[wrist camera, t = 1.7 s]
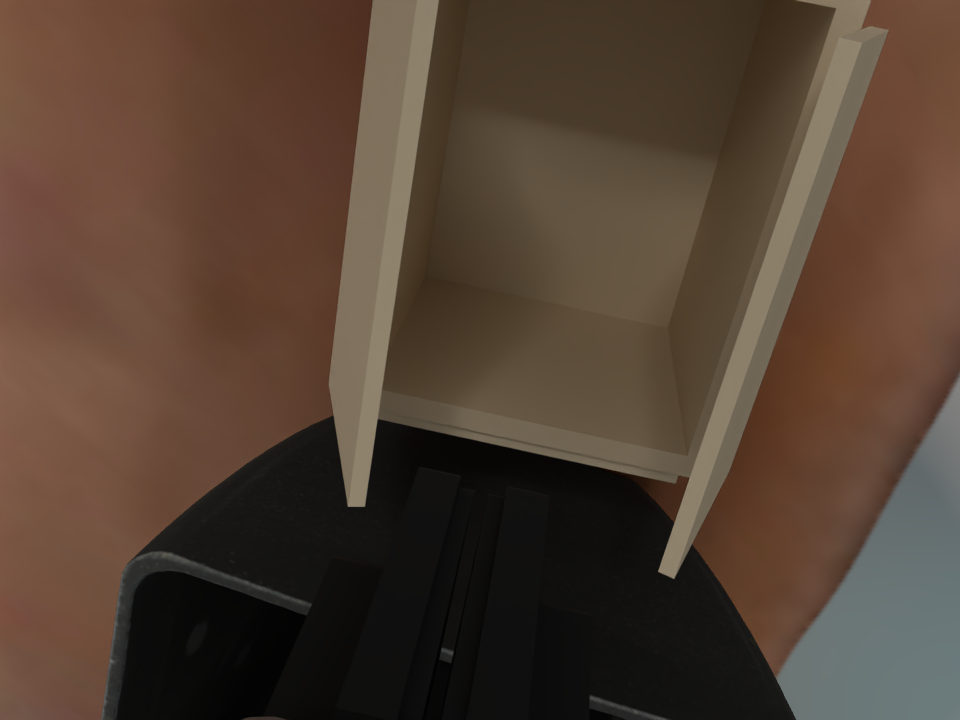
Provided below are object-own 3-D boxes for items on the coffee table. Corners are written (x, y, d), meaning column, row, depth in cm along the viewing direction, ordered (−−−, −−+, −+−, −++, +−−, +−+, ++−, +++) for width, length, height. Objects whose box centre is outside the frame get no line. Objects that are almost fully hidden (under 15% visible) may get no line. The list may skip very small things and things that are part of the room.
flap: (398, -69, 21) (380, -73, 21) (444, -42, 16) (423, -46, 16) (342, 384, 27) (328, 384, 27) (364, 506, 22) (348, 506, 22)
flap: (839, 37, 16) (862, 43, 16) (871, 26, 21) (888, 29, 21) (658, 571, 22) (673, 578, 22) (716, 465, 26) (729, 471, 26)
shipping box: (469, -121, 30) (412, -135, 21) (801, -55, 30) (885, -41, 21) (406, 294, 37) (343, 416, 28) (676, 352, 36) (699, 494, 28)
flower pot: (311, 297, 37) (115, 554, 22) (750, 438, 38) (845, 784, 23) (236, 629, 46) (58, 975, 31) (594, 741, 46) (589, 1138, 31)
